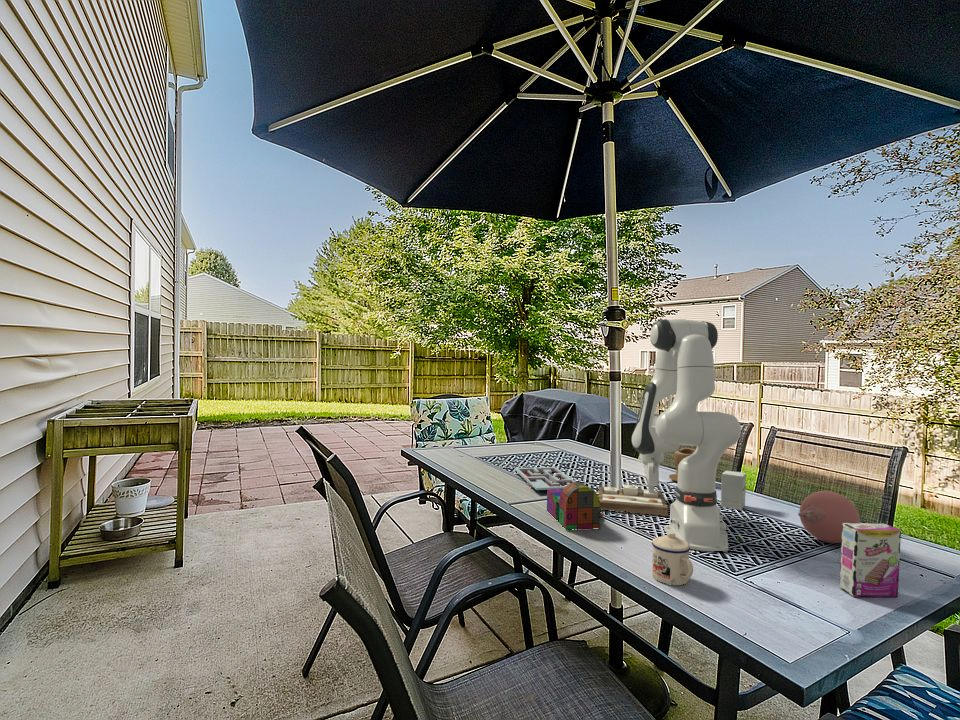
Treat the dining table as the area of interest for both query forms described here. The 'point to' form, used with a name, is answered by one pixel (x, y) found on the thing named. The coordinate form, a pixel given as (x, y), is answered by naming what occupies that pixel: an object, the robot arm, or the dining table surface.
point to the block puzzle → (575, 506)
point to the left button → (610, 490)
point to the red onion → (827, 515)
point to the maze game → (544, 478)
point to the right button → (650, 493)
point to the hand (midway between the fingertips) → (651, 491)
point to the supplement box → (733, 490)
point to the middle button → (630, 490)
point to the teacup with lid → (671, 560)
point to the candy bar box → (870, 560)
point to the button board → (633, 502)
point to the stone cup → (678, 457)
